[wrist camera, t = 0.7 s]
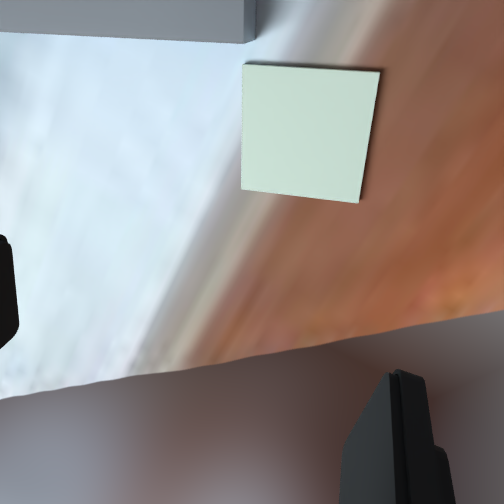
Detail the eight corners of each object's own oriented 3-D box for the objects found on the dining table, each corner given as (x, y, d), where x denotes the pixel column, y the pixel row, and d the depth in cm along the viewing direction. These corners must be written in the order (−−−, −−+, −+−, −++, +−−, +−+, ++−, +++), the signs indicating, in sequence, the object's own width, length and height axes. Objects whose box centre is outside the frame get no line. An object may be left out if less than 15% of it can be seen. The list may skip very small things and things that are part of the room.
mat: (244, 63, 39) (242, 64, 38) (379, 71, 36) (379, 72, 36) (242, 186, 45) (241, 189, 44) (358, 200, 43) (358, 203, 42)
